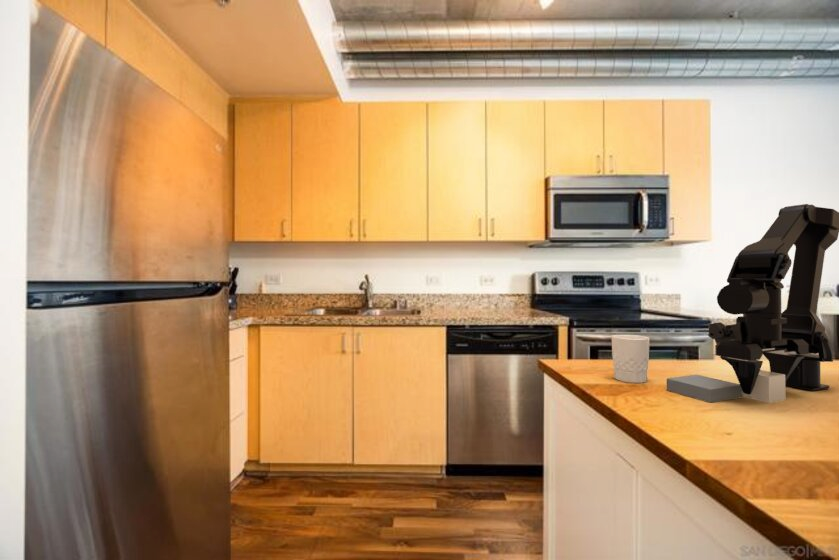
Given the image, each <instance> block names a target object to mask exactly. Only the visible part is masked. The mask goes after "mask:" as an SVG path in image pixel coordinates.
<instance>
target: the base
mask: <svg viewBox="0 0 839 560" xmlns="http://www.w3.org/2000/svg"><path fill="white" fill-rule="evenodd" d="M667 390H668V392H671V393H675V394H679V395H683V396H685V397H689V398H691V399H692V398H693V399H696V400H699V401H703V402H708V403H717V402H723V401H729V400H736V399H740V398H743V396H742V388H741V386H740V383H736V382H731V381H727V380H723V379H719V378H713V377H708V376H703V375H700V374H690V375H683V376H676V377H675V376H673V377H667V378H666V391H667Z"/></svg>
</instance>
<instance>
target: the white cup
mask: <svg viewBox="0 0 839 560" xmlns="http://www.w3.org/2000/svg"><path fill="white" fill-rule="evenodd" d="M650 341H651V340H650V337H648V336H643V335H636V334H613V335H611V350H612V351H611V352H612V353H611V354H612V356H611V357H612V364H613V365H612V366H613V376H614V379H615V380H617V381H620V382H624V383H631V384H632V383H633V384H643V382H644V383H646V382H647V381H648V370H649V360H650V357H649V356H650Z"/></svg>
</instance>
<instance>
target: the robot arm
mask: <svg viewBox="0 0 839 560" xmlns="http://www.w3.org/2000/svg"><path fill="white" fill-rule="evenodd" d="M838 238H839V211H837V210H836V209H834V208H828V207H821V206H815V205H814V204H809V203H804V204H797V205H789V206H785V207H781V208H780V209H779V210H778V216H777V218H775V220H774V222H773V223H772V224H771V225H770V226H769V228H768V229H767V230H766V232H765V233H764V235H763V236H762V237H761V238H760V240H758V241H756V242H752V243H750V244H748V245H746V246H745V247H744V248H743V249H741V250H740V251H739V252H738V254H737V256H736V257H735V259H734V261H733V264H732V266H731V268H730V271H729V273H728V276H727V279H726V282H727V283H728V284H727V285H725V286H723V287H722V288H721V289H720V290H719V292H718V294H717V296H716V301H717V304H718V306H719V308H720V309H721V310H722V311H724V312H725V313H727V314H730V315H737V317H736V321H735V324H730V325H725V324H723V322H713V323H710V324H709V325H708V338H711V339H712V340H714V341H715V345H714V348H715V350H714V351H715V352H714V353H715V356H718V357H720V359H721V360H723V361H726V363H728V364H729V365H730V366H731V367H732V369H733V371H734V373H735V376H736V379H737V381H738V384H740V386H741V388H742V391H743V393H745V394H751V392H752V390H753V388H754V385H755V382H756V380H757V377H758V374H759V371H760V370H762V369H761V368H762V366H763V363H764V361H763V360H761V358H762V357H763V356H764V357H765V358H766V360H768V363H769V372H774V373H780V374H785V387H791V388H796V389H800V390H801V389H802V390H804V391H805V390H806V391H811V392H813V391H814V392H815V391H819V390H824V389H825V390H826V389H829V388H830V385H828V384H823V383H821V363H825V362H829V363H831V362H832V363H833V362H834V356H835V354H834V348H833V345H832V344H831V341H830V340H829V338H828V336H827V333H826V327H825V325H824V324H823V322H822V320H821V319H820V318H819V316H818V315H817V310H818V303H819V297H820V289H821V284H822V283H821V282H822V275H823V268H824V262H825V254H826V251H827V250H828V249H829V248H830V247H831V246H832V245H833V244H834V243H835V242H836V241H838ZM793 246H795V251H794V258H793V262H792V259H791V258H790V255H789V251H790V250H791V248H792V247H793ZM792 263H793V264H792ZM791 266H792V269H791V271H792V272H791V275H790V277H791V278H790V283H789V289H788V297H787V304H786V309H784V311H782V290H783V289H784V288H785V286H784V284H783V283H782V281H783V280H784V279H785V278H786V275H787V274H788V272H789V270H790V268H791ZM738 315H742V316H738Z"/></svg>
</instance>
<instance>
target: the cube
mask: <svg viewBox="0 0 839 560" xmlns="http://www.w3.org/2000/svg"><path fill="white" fill-rule="evenodd" d="M742 398H748V399H752V400H756V401H759V402H763V403H768V404H771V403H772V404H773V403H776V402H781V401H786V399H787V398H786V385H785V374H780V373H774V372H770V370H769V371H767V370H762V369H760V371H759V374H758V377H757V380H756V382H755V385H754V388H753V390H752V392H751V394H745V393H743V391H742Z"/></svg>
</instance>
